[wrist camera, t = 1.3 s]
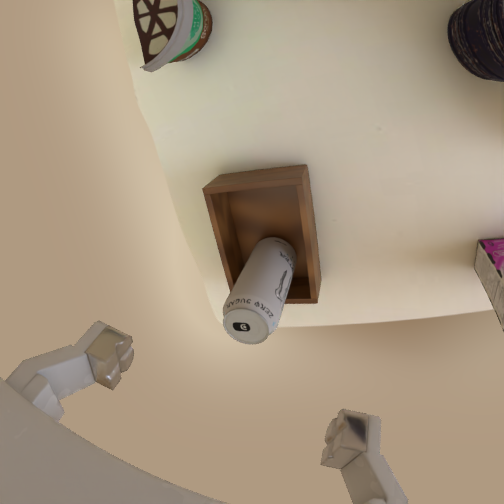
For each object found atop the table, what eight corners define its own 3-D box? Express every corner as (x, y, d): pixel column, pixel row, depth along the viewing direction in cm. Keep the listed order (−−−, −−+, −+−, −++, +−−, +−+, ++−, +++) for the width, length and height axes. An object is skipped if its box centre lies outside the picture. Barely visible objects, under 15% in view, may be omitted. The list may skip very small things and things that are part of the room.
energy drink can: (300, 271, 45) (278, 349, 32) (258, 272, 47) (225, 346, 34) (294, 232, 42) (269, 305, 30) (251, 235, 44) (210, 303, 31)
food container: (230, 58, 33) (195, 54, 25) (185, 71, 35) (140, 72, 27) (211, -25, 27) (173, -49, 19) (168, -9, 29) (122, -25, 21)
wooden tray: (218, 175, 41) (202, 188, 37) (307, 164, 38) (301, 177, 33) (244, 281, 49) (233, 303, 44) (321, 279, 45) (317, 303, 40)
